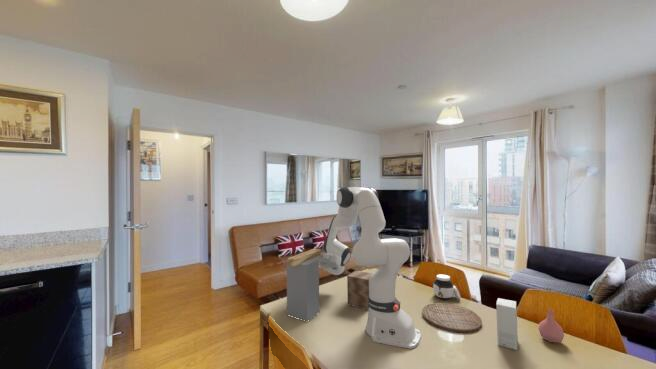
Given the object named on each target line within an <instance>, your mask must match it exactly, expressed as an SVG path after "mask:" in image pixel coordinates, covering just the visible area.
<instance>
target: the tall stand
mask: <svg viewBox="0 0 656 369" xmlns="http://www.w3.org/2000/svg"><path fill="white" fill-rule="evenodd" d="M319 270H320V265H319V260H317V259H310V260H308V261H306V262H303V263H301V264H299V265H296V266H291V265H288V260H287V261H286V316H287V315H290V316H293V317H296V318H299V319H302V320H305V321H308V320H310V319H311V318H312V317H313V316H314V315H316V314H317V313H318V312H319V313H320V271H319ZM316 316H317V315H316ZM312 319H313V318H312ZM312 319H311V320H312ZM302 320H301V321H302ZM311 320H310V321H311ZM305 321H304V322H305Z"/></svg>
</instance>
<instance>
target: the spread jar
mask: <svg viewBox="0 0 656 369" xmlns="http://www.w3.org/2000/svg"><path fill="white" fill-rule="evenodd" d="M432 288H433V290H432V291H433V294H434V295H435V297H436V298H437V299H439V300H443V301H449V300H451V299H452V298H453V297H455V298H456V300H458V299H460V298H461V294H460V291H459V290H458V288H457V286H456V285H454V284H453V282H452V281H451V276H450V275H447V274H441V273H439V274H437V275H436V278H435V279H434V281H433V286H432Z"/></svg>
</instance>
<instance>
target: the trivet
mask: <svg viewBox="0 0 656 369" xmlns="http://www.w3.org/2000/svg"><path fill="white" fill-rule="evenodd" d="M421 311H422V317H423V319H424V320H425V321H426V322H427V323H428V324H430V325H431V326H433V327H435V328H437V329H439V330H443V331H447V332H451V333H457V334H472V333H475V332H478V331H479V330H480V329H481V328H482V323H483V320H482V319H481V317H480V316H479V314H478V313H476V312H475V311H473V310H471V309H469V308H466V307H464V306H461V305H457V304H453V303H446V302H434V303H429V304H427V305H424V306H423V307H422V310H421Z"/></svg>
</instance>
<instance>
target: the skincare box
mask: <svg viewBox="0 0 656 369" xmlns="http://www.w3.org/2000/svg"><path fill="white" fill-rule="evenodd" d="M495 305H496V330H497V332H496V334H497V345H498V346H500V347H504V348H508V349H511V350H514V351H518V343H519V342H518V340H519V338H518V312H517V310H518V309H517V301H516V300H510V299H505V298H500V297H498V298H497V300H496V304H495Z"/></svg>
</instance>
